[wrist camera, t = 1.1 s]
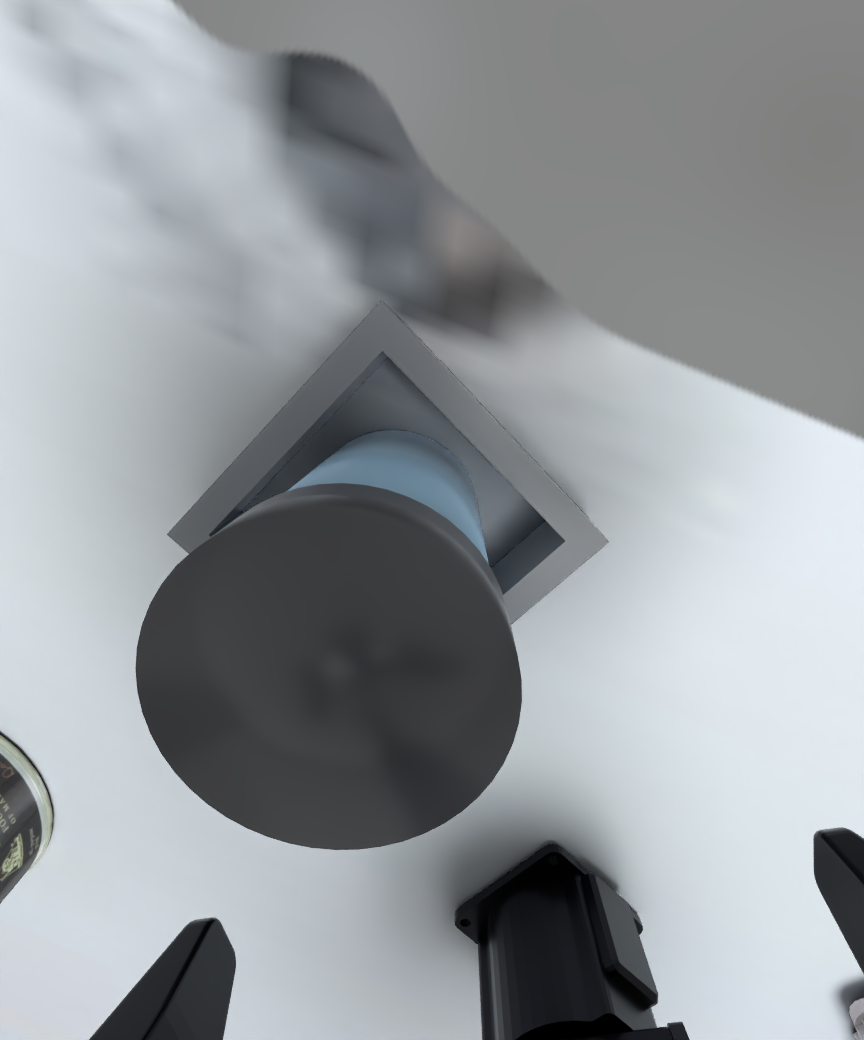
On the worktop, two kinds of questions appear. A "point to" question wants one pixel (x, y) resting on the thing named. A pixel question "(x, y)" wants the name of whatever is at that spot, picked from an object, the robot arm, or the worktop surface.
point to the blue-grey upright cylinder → (338, 654)
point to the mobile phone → (858, 1018)
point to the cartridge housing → (386, 335)
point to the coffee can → (21, 816)
